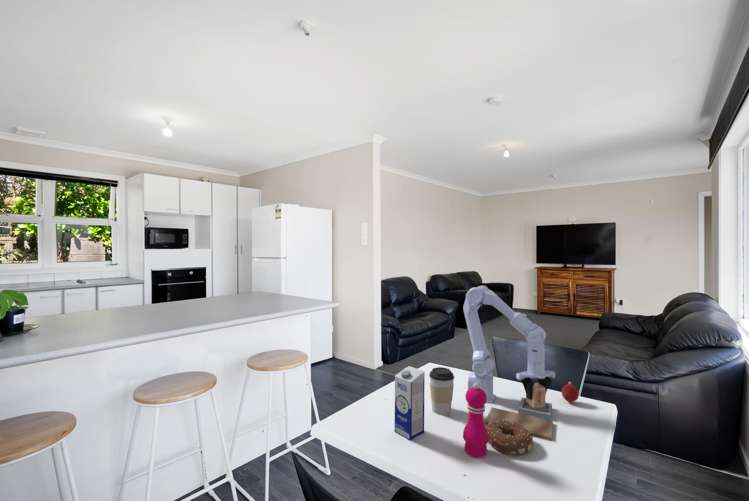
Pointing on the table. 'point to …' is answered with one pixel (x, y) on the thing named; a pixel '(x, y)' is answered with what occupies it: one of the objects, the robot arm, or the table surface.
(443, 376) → the coffee cup
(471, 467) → the table surface
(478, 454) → the pepper mill
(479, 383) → the robot arm
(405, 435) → the milk carton
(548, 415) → the collar
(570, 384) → the onion
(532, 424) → the board
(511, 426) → the donut
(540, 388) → the peach cube with handle
